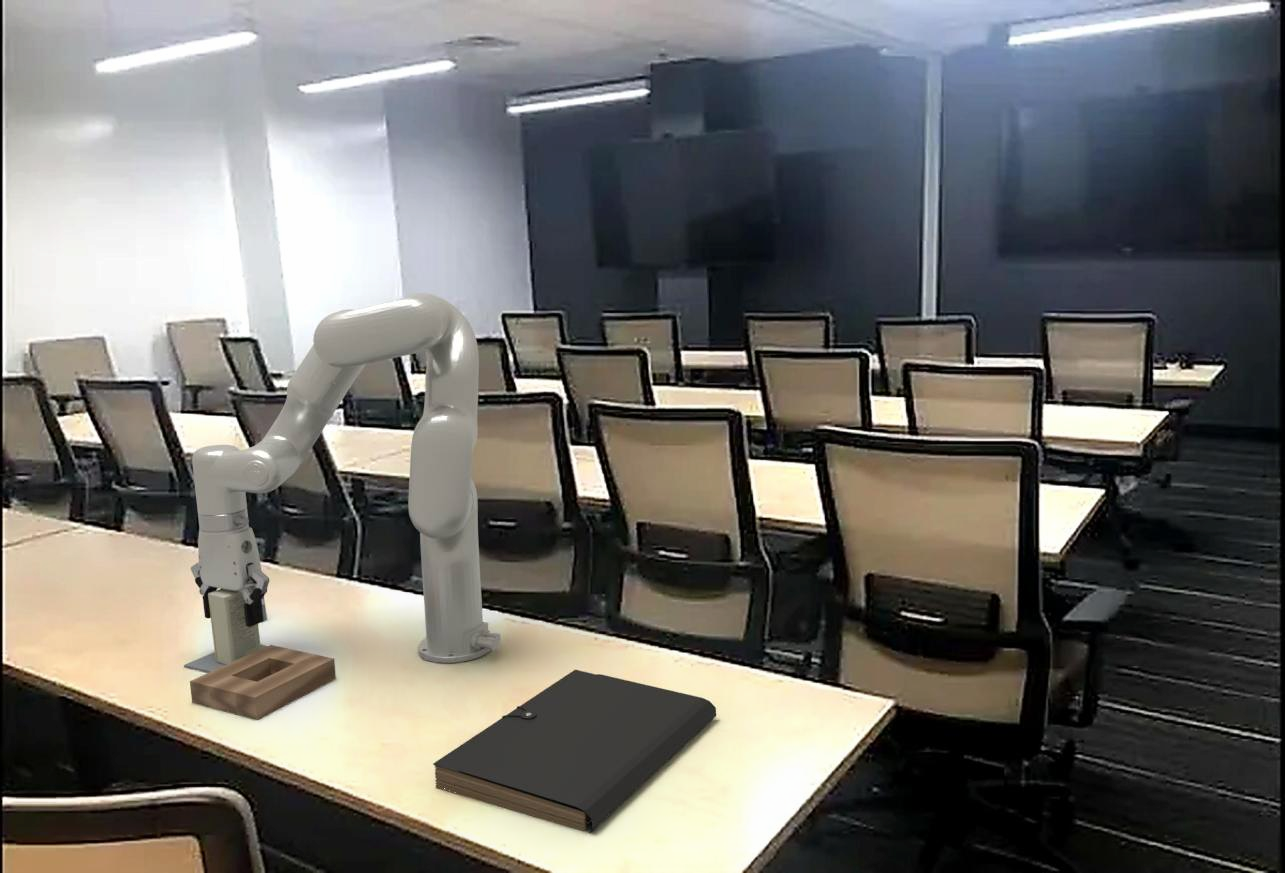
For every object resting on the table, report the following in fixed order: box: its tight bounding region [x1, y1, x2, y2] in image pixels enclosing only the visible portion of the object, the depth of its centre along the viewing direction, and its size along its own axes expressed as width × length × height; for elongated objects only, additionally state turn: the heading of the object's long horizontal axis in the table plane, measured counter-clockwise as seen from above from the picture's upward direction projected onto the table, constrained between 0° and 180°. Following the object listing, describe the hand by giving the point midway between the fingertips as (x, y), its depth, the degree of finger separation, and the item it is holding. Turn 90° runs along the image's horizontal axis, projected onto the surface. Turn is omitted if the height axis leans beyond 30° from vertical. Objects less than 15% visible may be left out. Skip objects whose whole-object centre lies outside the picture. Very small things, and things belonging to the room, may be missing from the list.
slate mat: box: [183, 643, 268, 674], centre depth 179 cm, size 12×12×1 cm
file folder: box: [432, 669, 717, 834], centre depth 143 cm, size 33×4×24 cm
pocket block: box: [189, 644, 337, 721], centre depth 166 cm, size 14×16×4 cm
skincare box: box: [208, 584, 261, 665], centre depth 177 cm, size 6×4×12 cm
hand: (234, 619), depth 177 cm, fingers open, 9 cm apart
